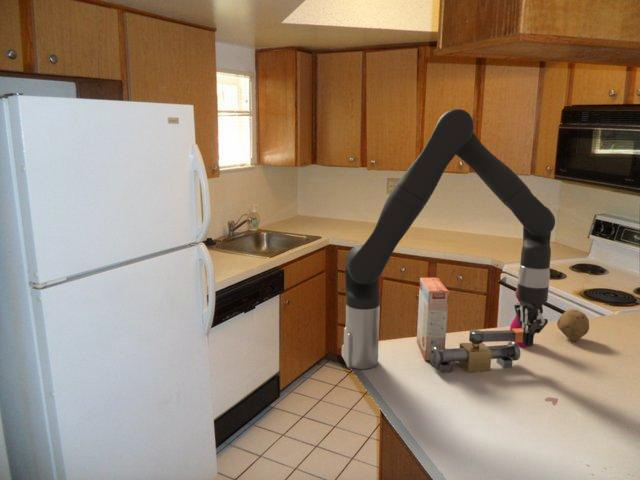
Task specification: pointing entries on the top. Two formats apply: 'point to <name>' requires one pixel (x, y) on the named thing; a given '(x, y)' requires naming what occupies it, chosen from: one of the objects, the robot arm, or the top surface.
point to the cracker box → (432, 315)
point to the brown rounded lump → (573, 324)
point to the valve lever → (496, 336)
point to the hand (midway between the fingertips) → (527, 344)
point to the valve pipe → (475, 356)
